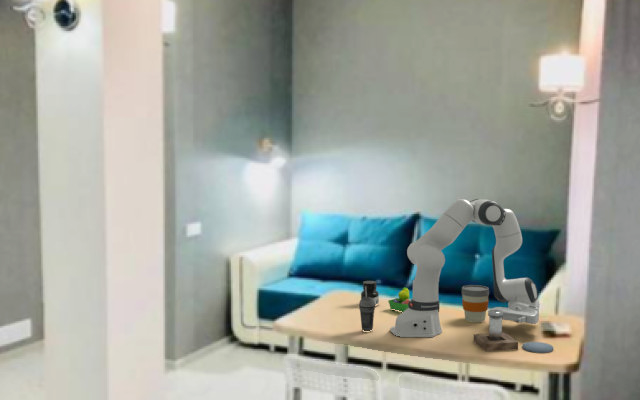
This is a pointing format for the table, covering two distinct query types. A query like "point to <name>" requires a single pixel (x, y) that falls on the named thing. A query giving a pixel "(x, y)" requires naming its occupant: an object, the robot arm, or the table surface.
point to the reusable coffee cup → (475, 302)
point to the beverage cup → (367, 312)
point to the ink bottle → (370, 291)
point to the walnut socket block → (495, 342)
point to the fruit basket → (400, 301)
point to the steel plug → (495, 325)
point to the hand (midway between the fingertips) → (507, 319)
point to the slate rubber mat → (537, 347)
